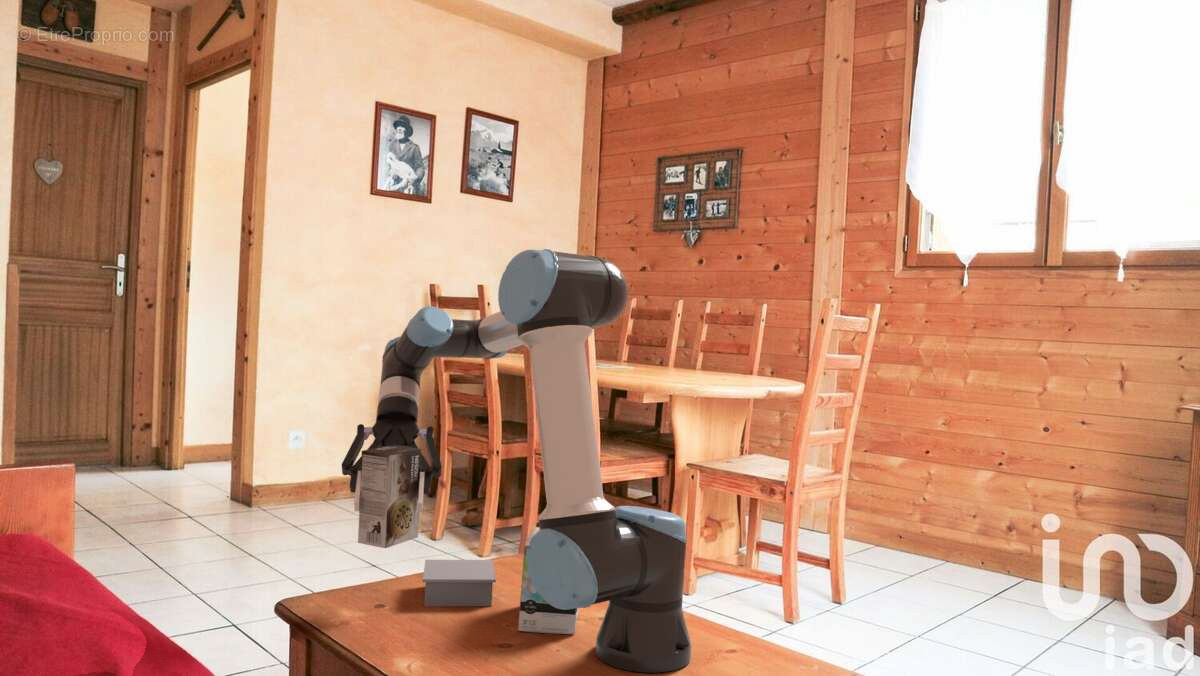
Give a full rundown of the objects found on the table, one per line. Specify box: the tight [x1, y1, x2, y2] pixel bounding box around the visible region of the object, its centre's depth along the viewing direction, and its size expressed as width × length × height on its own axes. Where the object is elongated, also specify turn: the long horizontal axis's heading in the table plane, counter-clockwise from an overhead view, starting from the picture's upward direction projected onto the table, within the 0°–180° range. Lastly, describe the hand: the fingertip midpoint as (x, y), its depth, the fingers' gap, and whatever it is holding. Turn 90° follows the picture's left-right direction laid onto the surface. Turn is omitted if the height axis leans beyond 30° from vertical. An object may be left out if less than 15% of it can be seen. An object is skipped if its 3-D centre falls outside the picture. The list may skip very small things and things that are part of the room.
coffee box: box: [357, 445, 422, 549], centre depth 151 cm, size 9×6×16 cm
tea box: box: [517, 526, 580, 635], centre depth 152 cm, size 15×10×15 cm
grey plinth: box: [422, 559, 497, 607], centre depth 162 cm, size 13×13×5 cm
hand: (388, 507), depth 148 cm, fingers closed on coffee box, 10 cm apart
